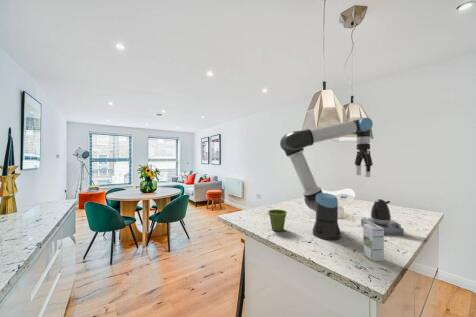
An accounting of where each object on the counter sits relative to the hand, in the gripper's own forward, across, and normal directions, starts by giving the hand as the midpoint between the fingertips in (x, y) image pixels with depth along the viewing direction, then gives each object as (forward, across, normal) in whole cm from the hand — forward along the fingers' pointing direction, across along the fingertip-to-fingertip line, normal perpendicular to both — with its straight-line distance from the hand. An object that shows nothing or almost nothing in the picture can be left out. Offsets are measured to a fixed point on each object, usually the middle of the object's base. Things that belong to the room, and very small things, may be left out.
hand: (362, 176), depth 129 cm
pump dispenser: (+29, -4, -9) cm, 31 cm away
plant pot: (+34, -16, +55) cm, 66 cm away
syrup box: (+34, -44, +13) cm, 57 cm away
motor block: (+33, -2, -9) cm, 34 cm away
